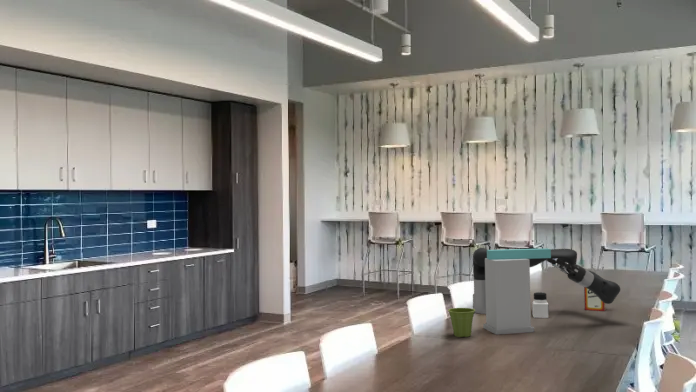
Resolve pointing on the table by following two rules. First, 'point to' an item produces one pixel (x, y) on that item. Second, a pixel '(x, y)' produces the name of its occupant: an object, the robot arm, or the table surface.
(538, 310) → the medicine bottle
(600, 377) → the table surface
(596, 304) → the baking soda box
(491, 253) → the block
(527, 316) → the pedestal
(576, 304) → the table surface
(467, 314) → the plant pot
